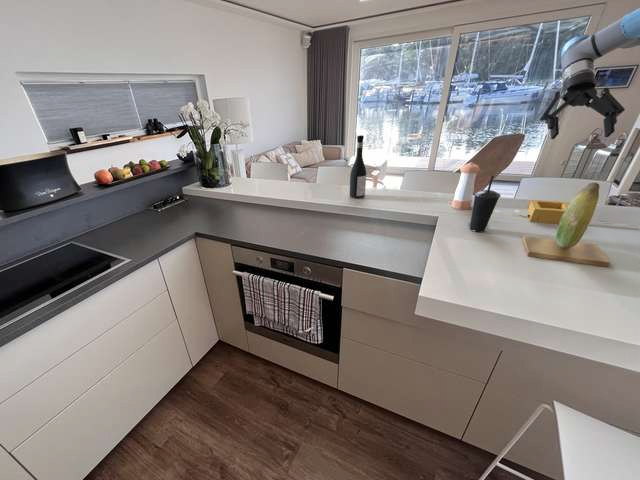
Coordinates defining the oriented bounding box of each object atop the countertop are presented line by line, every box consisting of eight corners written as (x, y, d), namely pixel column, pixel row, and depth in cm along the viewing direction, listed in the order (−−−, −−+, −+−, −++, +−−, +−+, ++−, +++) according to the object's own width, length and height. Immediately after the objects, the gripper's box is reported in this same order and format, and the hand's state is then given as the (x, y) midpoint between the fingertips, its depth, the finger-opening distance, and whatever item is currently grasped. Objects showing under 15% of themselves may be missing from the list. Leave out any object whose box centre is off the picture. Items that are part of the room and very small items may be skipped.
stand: (562, 214, 113) (567, 202, 110) (569, 225, 104) (575, 212, 102) (525, 211, 118) (530, 199, 116) (529, 221, 110) (534, 208, 107)
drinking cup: (493, 233, 103) (511, 178, 93) (469, 233, 105) (485, 179, 95) (484, 225, 110) (500, 172, 100) (462, 225, 111) (475, 173, 101)
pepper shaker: (448, 204, 131) (457, 161, 122) (463, 203, 131) (474, 159, 122) (457, 210, 125) (468, 164, 116) (473, 208, 125) (486, 163, 116)
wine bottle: (367, 195, 152) (372, 134, 137) (359, 199, 148) (363, 137, 133) (354, 193, 158) (357, 134, 143) (346, 197, 153) (348, 136, 138)
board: (594, 248, 89) (596, 244, 88) (607, 267, 81) (610, 262, 80) (522, 240, 98) (523, 236, 97) (527, 256, 89) (528, 251, 88)
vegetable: (580, 253, 85) (615, 186, 75) (554, 251, 87) (584, 186, 77) (570, 244, 90) (601, 180, 80) (546, 243, 92) (573, 180, 82)
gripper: (618, 85, 95) (624, 141, 90) (527, 93, 103) (527, 144, 98) (638, 65, 88) (645, 124, 83) (538, 75, 96) (539, 129, 91)
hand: (581, 135), depth 91 cm, fingers open, 13 cm apart
